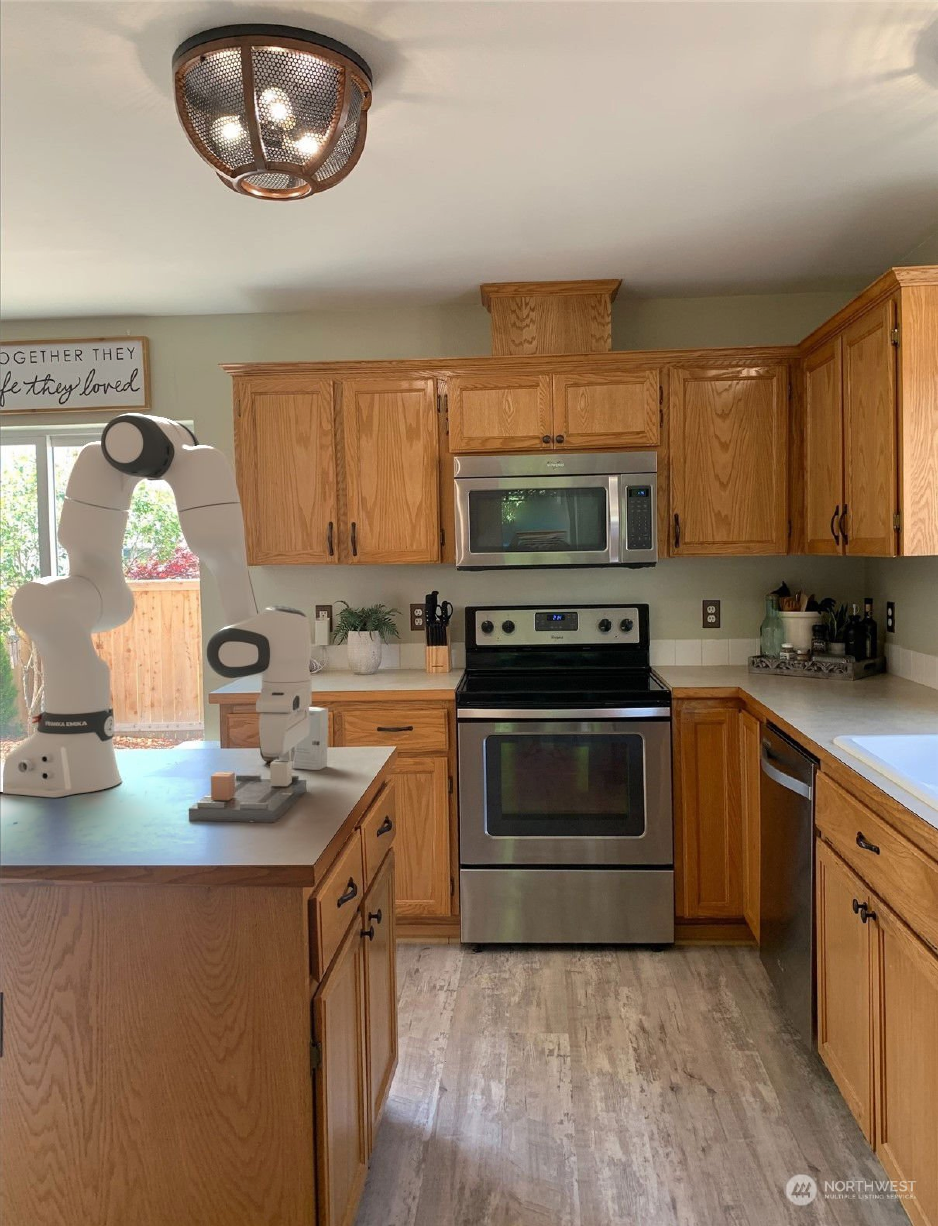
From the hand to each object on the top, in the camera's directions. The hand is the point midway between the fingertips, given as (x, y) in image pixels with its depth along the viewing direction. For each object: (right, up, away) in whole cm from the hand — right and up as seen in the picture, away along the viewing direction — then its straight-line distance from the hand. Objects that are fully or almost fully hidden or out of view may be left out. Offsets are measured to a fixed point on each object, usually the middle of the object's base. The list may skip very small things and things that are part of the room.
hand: (287, 770), depth 163 cm
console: (-4, -4, -10) cm, 11 cm away
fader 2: (0, -2, -4) cm, 4 cm away
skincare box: (+1, -3, +19) cm, 19 cm away
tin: (-7, -2, +27) cm, 28 cm away
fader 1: (-8, -2, -13) cm, 16 cm away
